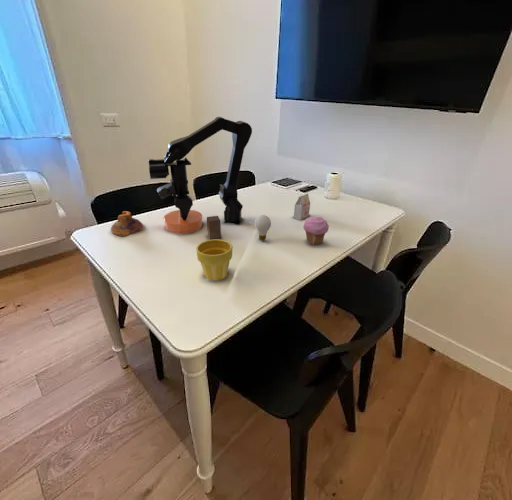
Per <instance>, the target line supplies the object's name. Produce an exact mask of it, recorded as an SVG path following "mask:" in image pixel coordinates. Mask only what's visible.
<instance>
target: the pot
mask: <svg viewBox="0 0 512 500" xmlns="http://www.w3.org/2000/svg"><path fill="white" fill-rule="evenodd" d="M202 219H203V218H202ZM202 219H201V220H200V221H198V222H196V223H193V224H189V225H172V224H168V223H166V222H165V221H164V224H165V226H164V227H165V229H166V230H167V231H169V232H171V233H175V234H189V233H193V232H196V231H198V230H200V229H201V228H202V227H203V220H202Z"/></svg>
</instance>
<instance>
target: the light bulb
mask: <svg viewBox="0 0 512 500" xmlns="http://www.w3.org/2000/svg"><path fill="white" fill-rule="evenodd" d="M254 226H255V228H256V230H257V232H258V233H257V234H258V239H259V241H261V242H265V241H266V240H267V234H268V231H269V230H270V228H271V227H272V220H271V219H270V217H269V216H267V215H265V214H261V215H258V216H257V217H256V219H255V220H254Z"/></svg>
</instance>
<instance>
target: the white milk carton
mask: <svg viewBox="0 0 512 500" xmlns="http://www.w3.org/2000/svg"><path fill="white" fill-rule="evenodd" d="M310 210H311V201H310V197H309V193H305V194H303V195H300V196H298V198H297V201H296V202H295V204H294V207H293V219H297V220H299V221H302V220H304V219H307V218H309V216H310Z"/></svg>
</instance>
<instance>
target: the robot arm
mask: <svg viewBox="0 0 512 500" xmlns="http://www.w3.org/2000/svg"><path fill="white" fill-rule="evenodd" d="M222 130H223V131H226V132H229V133H231V138H232V149H231V155H230V159H229V165H228V170H227V175H226V180H225V183H224V184H219V191H218V193H217V194H218V196H219V198H220V200H221V202H222V203H223V205H224V206H225V207H224V210H223V220H224V222H223V223H225V224H232V225H240V224H241V223H242V220H243V217H242V210H243V207H244V205H243V204H242V203H241V202H240V200H239V199H238V181H239V176H240V171H241V167H242V162H243V157H244V153H245V148H246V147H247V145H248V143H249V141H250V139H251V137H252V134H253V128H252V126H251V125H250V124H249V123H248V122H245V121H243V120H237V121H233V120H230V119H226V118H225V117H222V116H216V117H215V118H214V119H213V120H211V121H210V122H208V123H206V124H205V125H202V127H200V128H198V129H197V130H195V131H194V132H192V133H190V134H189V135H186V136H184V137H179V138H177V139H174V140H172V141H170V142H169V143H168V145H167V152H166V153H165V154H164V156H163V158H160V159H154V158H149V159H148V172H149V177H150V180H159V179H167V178H168V176H170V180H169V181H170V182H169V183H166V184H164V185H162V186H159V187H157V188H156V192H157V195H158V196H159V198H160V199H161V200H164V199H166V198H167V197H170V196H171V197H172V198H173V202H174V206H175V208H176V209H177V210H179V209H180V212H181V215H182V218H183V220H186V219H187V216H188V213H189V211H190V210H192V209H191V208H192V207H193V206H194V202H193V199H192V197H191V196H190V191H189V180H188V173H187V166H191V165H192V162H191V161H190V160H189V159H188V158H187V157H186V156H187V155H188V154H190V152H191V151H192V150H193V149H194V148H195V147H196V146H198V145H200V144H201V143H203V142H204V141H206V140H207V139H209V138H211V137H212V136H214V135H215V134H217V133H219V132H220V131H222ZM169 169H170V171H169Z"/></svg>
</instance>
